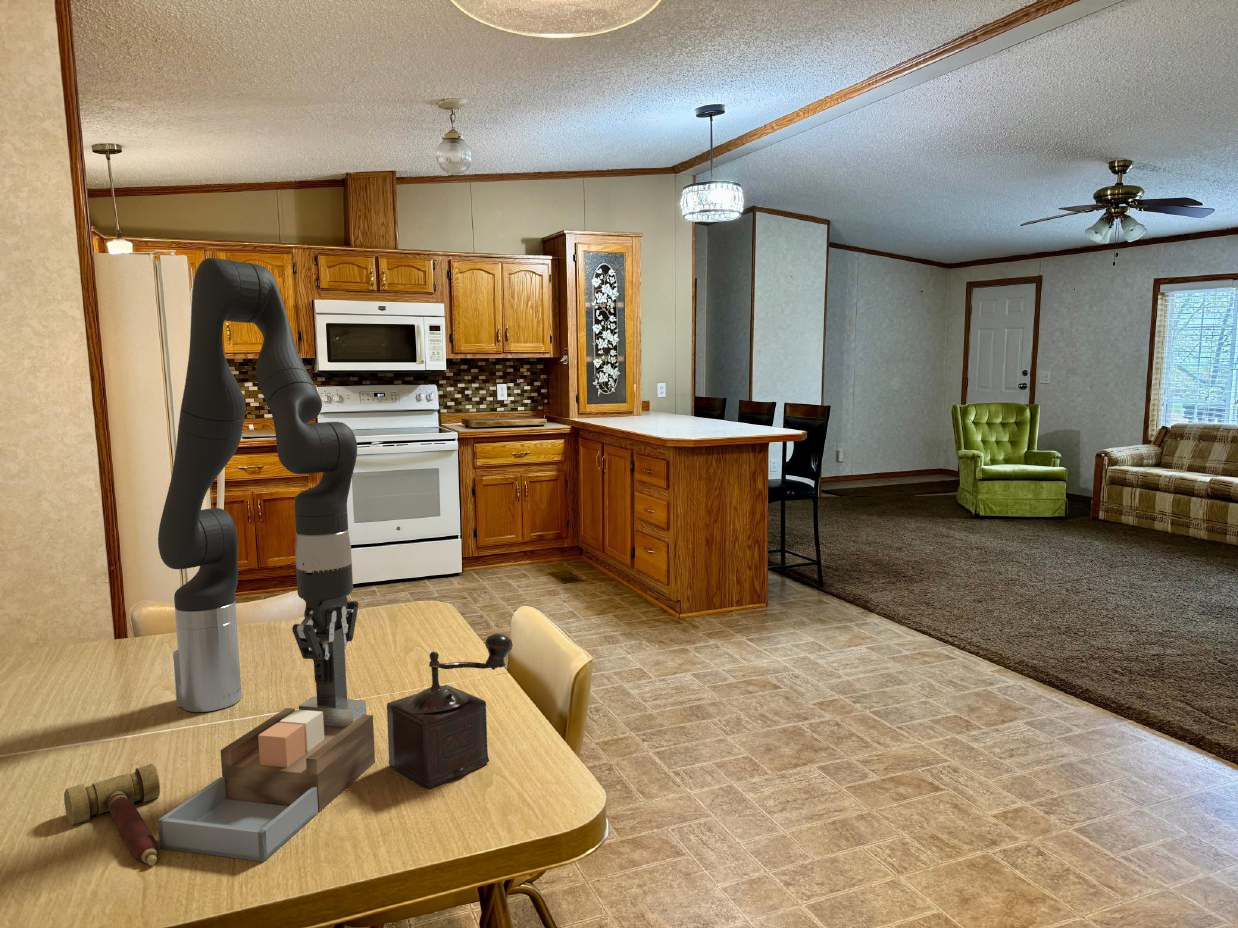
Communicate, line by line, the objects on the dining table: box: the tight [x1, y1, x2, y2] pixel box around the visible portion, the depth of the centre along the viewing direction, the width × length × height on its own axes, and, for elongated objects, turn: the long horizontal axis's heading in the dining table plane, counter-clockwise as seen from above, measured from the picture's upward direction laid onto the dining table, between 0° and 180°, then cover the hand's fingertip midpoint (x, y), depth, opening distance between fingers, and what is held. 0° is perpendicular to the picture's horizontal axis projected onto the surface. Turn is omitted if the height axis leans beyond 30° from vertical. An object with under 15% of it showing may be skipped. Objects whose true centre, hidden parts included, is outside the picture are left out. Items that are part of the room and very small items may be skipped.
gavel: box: [63, 763, 161, 866], centre depth 102 cm, size 21×5×10 cm
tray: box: [157, 776, 319, 863], centre depth 102 cm, size 14×11×4 cm
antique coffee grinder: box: [386, 633, 513, 790], centre depth 119 cm, size 16×11×18 cm
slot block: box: [219, 707, 376, 813], centre depth 114 cm, size 14×14×7 cm
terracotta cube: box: [258, 723, 305, 767], centre depth 110 cm, size 4×4×4 cm
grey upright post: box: [298, 627, 367, 727], centre depth 121 cm, size 9×4×14 cm, turn 77°
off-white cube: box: [280, 709, 324, 752], centre depth 114 cm, size 4×4×4 cm
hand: (330, 678), depth 121 cm, fingers closed on grey upright post, 3 cm apart
